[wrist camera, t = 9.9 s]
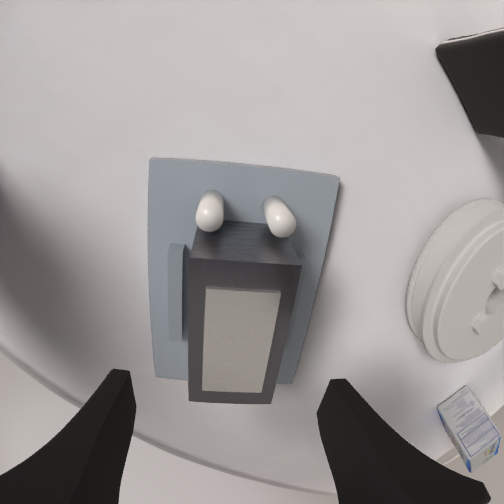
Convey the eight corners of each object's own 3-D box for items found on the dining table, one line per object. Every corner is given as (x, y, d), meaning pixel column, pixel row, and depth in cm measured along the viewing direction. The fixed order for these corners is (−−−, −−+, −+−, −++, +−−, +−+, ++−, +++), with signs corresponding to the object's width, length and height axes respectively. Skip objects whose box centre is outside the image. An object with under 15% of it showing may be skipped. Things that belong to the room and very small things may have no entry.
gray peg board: (157, 369, 22) (149, 408, 18) (153, 157, 16) (133, 167, 12) (290, 375, 23) (299, 413, 19) (335, 175, 17) (361, 190, 14)
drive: (194, 343, 20) (188, 403, 15) (199, 218, 17) (189, 259, 12) (261, 346, 20) (271, 406, 16) (281, 225, 17) (303, 267, 12)
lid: (476, 159, 17) (526, 175, 13) (525, 255, 21) (559, 279, 17) (368, 294, 21) (399, 337, 16) (442, 355, 25) (468, 390, 20)
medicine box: (435, 405, 28) (467, 461, 20) (466, 382, 27) (502, 435, 19) (443, 427, 31) (469, 474, 23) (470, 407, 30) (499, 453, 22)
